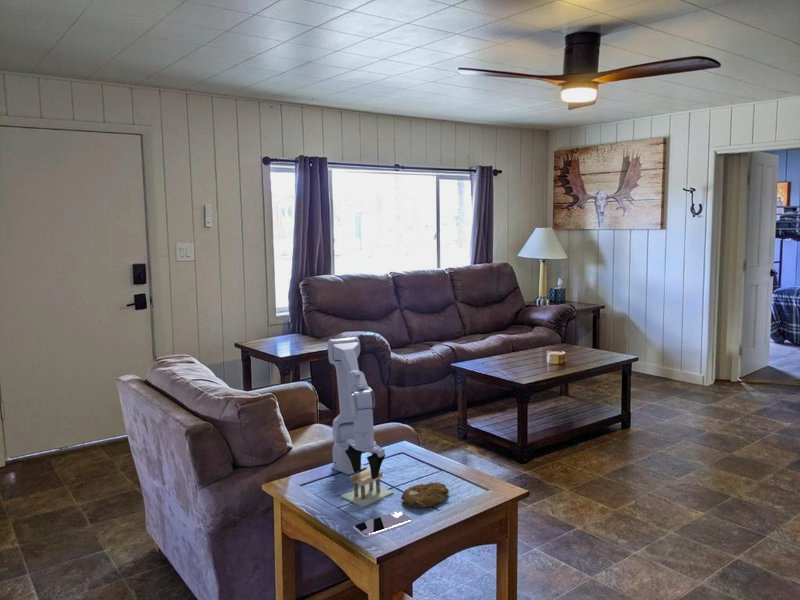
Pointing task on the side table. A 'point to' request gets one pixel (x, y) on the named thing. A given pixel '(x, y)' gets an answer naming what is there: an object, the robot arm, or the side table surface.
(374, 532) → the mobile phone
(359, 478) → the tan block with pegs
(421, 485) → the decorative rock
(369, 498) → the mat
